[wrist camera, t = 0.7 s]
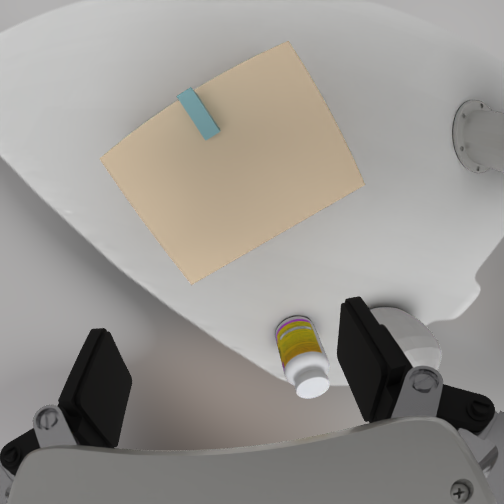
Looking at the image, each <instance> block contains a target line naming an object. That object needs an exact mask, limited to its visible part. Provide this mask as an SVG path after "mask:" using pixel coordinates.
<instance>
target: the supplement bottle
mask: <svg viewBox="0 0 504 504" xmlns="http://www.w3.org/2000/svg"><path fill="white" fill-rule="evenodd" d="M275 336H276V341H277V345H278V350H279V353H280V358H281V362H282V366H283V370H284V374H285V377H286V379H287V381H288V382H289V383H291V384H292V385H294V386H295V389H296V393H297V395H298V396H300V397H302V398H314V397H317V396H320V395H321V394H323V393H324V392H326V391H327V389H328V388H329V380H328V376H327V374H328V372H329V367H330V364H329V361H328V358H327V355H326V353H325V351H324V348H323V346H322V343H321V341H320V338H319V336H318V334H317V331H316V329H315V327H314V324H313V323H312V322H311V321H310V320H309V319H307V318H305V317H301V316H296V317H291V318H288V319H286V320H285V321H283V322H282V323H281V324H280V325H279V326H278V328H277V330H276V334H275Z"/></svg>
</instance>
